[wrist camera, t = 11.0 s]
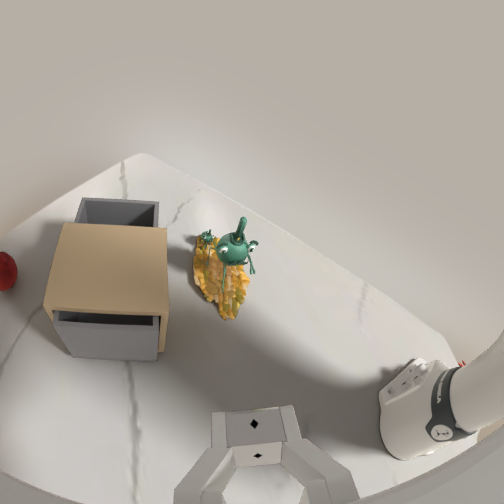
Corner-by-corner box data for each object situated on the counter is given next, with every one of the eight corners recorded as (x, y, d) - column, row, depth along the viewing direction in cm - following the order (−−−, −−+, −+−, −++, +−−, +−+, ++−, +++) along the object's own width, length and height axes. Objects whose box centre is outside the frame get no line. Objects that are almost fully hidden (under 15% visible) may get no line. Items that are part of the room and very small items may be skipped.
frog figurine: (235, 236, 56) (263, 181, 45) (253, 323, 47) (295, 282, 36) (186, 233, 52) (205, 174, 41) (197, 327, 43) (221, 283, 32)
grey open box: (156, 360, 34) (159, 331, 28) (72, 357, 30) (52, 325, 23) (154, 246, 47) (159, 201, 40) (88, 242, 42) (82, 197, 35)
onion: (8, 265, 35) (-7, 233, 29) (28, 279, 35) (14, 246, 29) (-10, 290, 30) (-29, 259, 25) (10, 306, 31) (-9, 276, 25)
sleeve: (163, 352, 37) (169, 312, 28) (68, 347, 32) (42, 305, 23) (160, 281, 44) (166, 228, 36) (76, 277, 39) (63, 222, 30)
